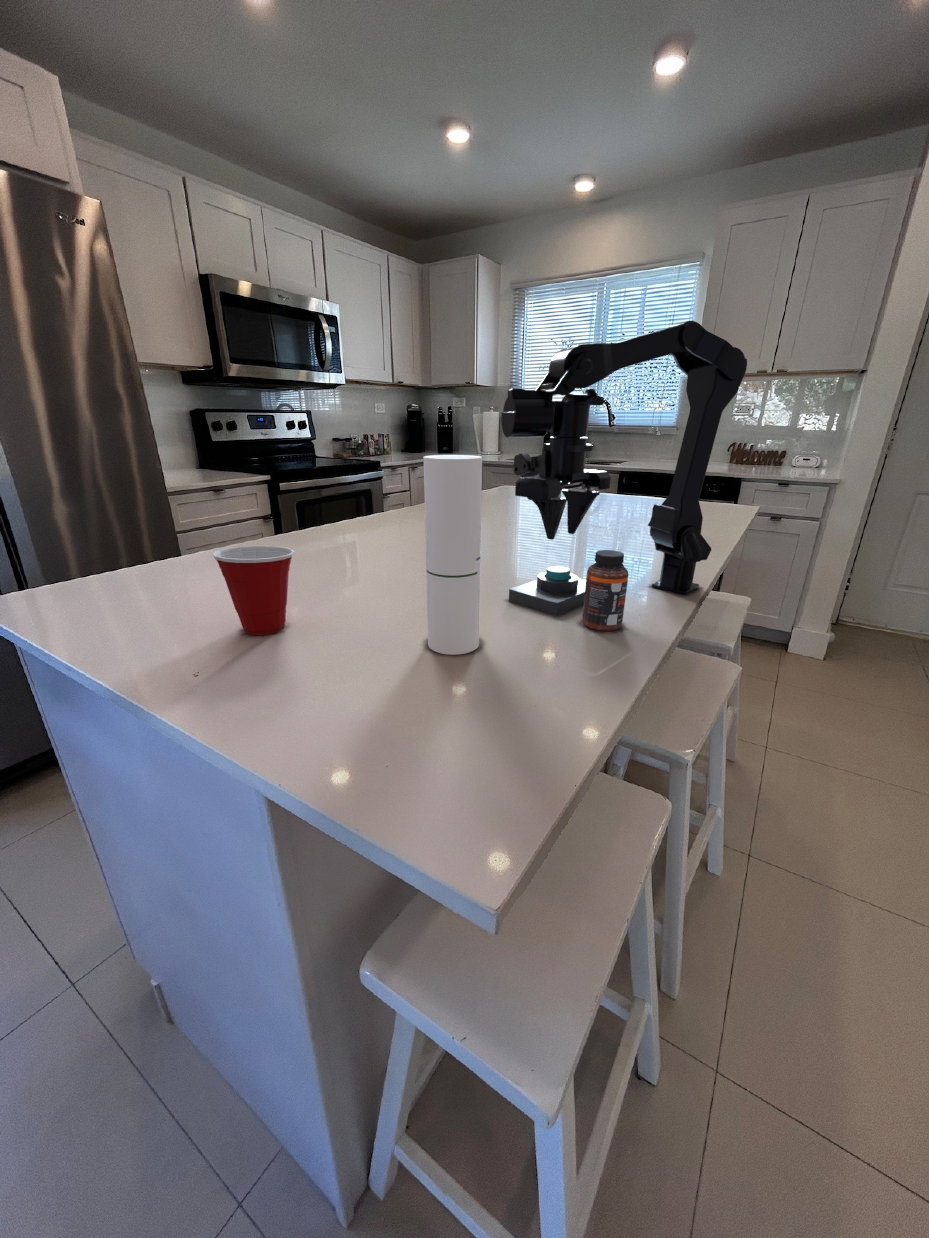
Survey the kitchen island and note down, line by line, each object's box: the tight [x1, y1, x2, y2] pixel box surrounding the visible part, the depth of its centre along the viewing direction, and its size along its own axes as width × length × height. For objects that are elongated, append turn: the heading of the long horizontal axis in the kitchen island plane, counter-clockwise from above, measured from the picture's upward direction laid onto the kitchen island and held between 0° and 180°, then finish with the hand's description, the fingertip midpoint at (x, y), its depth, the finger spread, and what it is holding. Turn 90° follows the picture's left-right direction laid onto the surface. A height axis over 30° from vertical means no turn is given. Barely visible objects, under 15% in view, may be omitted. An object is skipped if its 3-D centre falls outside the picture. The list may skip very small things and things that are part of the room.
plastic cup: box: [212, 545, 296, 636], centre depth 74 cm, size 11×11×12 cm
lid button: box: [545, 565, 571, 581], centre depth 87 cm, size 4×4×2 cm
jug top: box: [508, 571, 586, 617], centre depth 88 cm, size 14×10×4 cm
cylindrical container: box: [423, 454, 483, 656], centre depth 66 cm, size 7×7×25 cm
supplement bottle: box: [581, 549, 629, 632], centre depth 76 cm, size 6×6×11 cm
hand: (561, 536), depth 85 cm, fingers open, 6 cm apart
